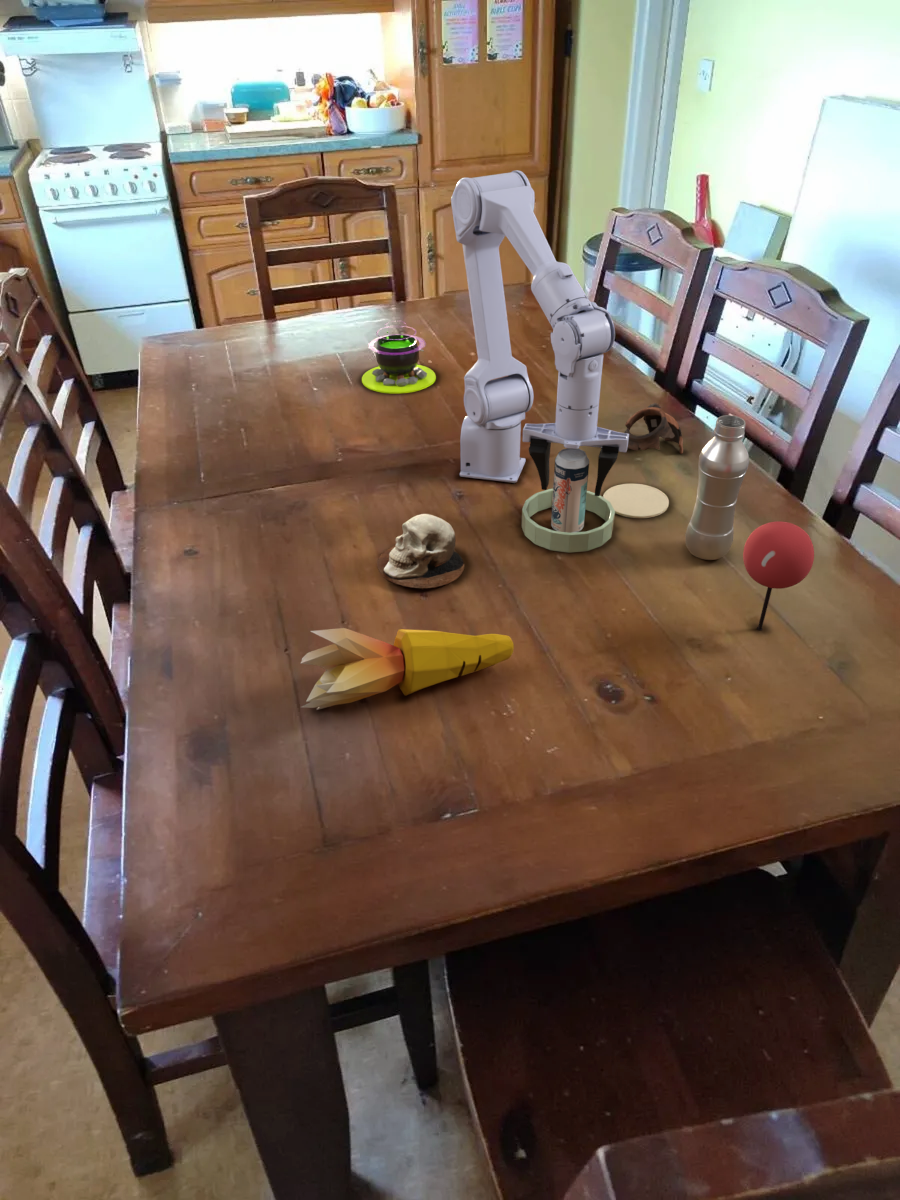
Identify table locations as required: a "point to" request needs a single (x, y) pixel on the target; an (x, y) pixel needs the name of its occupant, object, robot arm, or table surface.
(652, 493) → the coaster
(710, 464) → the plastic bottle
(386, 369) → the toy cauldron
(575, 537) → the ring
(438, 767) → the table surface
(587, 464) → the beer can
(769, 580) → the lollipop
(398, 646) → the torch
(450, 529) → the skull
